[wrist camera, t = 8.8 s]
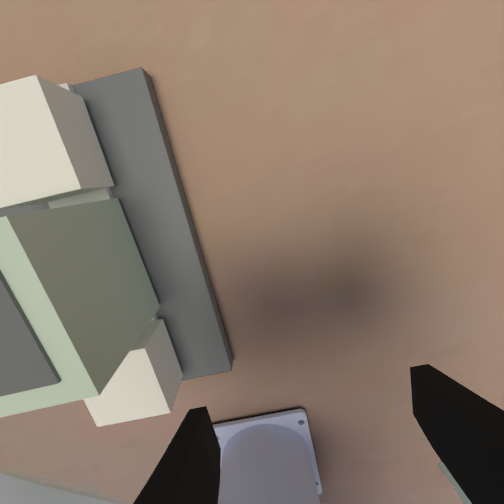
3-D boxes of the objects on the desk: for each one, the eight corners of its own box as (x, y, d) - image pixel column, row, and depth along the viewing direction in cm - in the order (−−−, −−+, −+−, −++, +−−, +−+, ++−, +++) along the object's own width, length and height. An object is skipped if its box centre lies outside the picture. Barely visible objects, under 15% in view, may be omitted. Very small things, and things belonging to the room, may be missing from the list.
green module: (160, 306, 17) (97, 398, 10) (93, 322, 17) (-14, 423, 10) (117, 197, 15) (1, 216, 8) (43, 217, 15) (-132, 252, 8)
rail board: (232, 359, 20) (228, 412, 15) (94, 386, 20) (51, 445, 16) (150, 76, 14) (106, 31, 10) (-33, 123, 15) (-151, 101, 11)
